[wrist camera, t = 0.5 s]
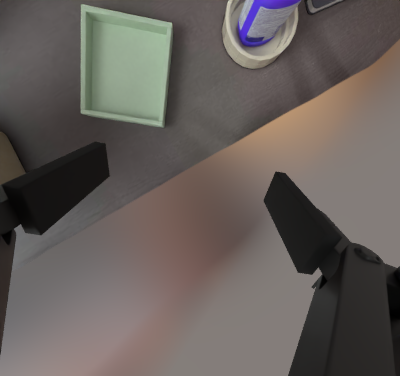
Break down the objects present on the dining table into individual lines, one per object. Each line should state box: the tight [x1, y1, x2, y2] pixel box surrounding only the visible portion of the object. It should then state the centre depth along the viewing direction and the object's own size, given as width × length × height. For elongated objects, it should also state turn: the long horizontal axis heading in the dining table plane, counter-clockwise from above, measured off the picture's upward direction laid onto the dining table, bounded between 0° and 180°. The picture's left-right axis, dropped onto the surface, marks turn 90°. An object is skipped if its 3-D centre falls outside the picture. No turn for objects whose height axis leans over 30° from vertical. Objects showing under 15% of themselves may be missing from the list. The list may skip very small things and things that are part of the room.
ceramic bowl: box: [222, 0, 298, 69], centre depth 30 cm, size 12×12×4 cm
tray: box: [81, 4, 174, 128], centre depth 31 cm, size 17×15×2 cm
